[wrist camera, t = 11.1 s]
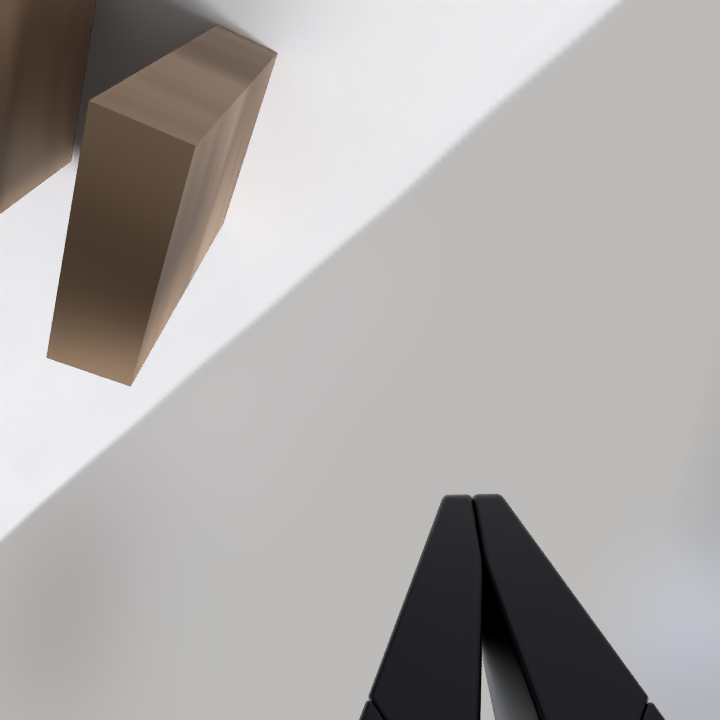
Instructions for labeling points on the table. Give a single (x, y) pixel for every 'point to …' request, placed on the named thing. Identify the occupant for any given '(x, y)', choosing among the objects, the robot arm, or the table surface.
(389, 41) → the table surface
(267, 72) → the domino
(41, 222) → the table surface
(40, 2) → the domino
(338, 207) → the table surface
